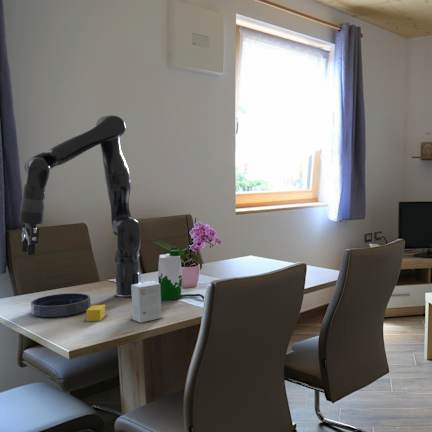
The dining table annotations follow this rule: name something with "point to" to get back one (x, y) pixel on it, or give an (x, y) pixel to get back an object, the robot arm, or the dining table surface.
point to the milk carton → (170, 275)
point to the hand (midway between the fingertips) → (27, 253)
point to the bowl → (60, 305)
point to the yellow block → (95, 313)
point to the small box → (146, 301)
